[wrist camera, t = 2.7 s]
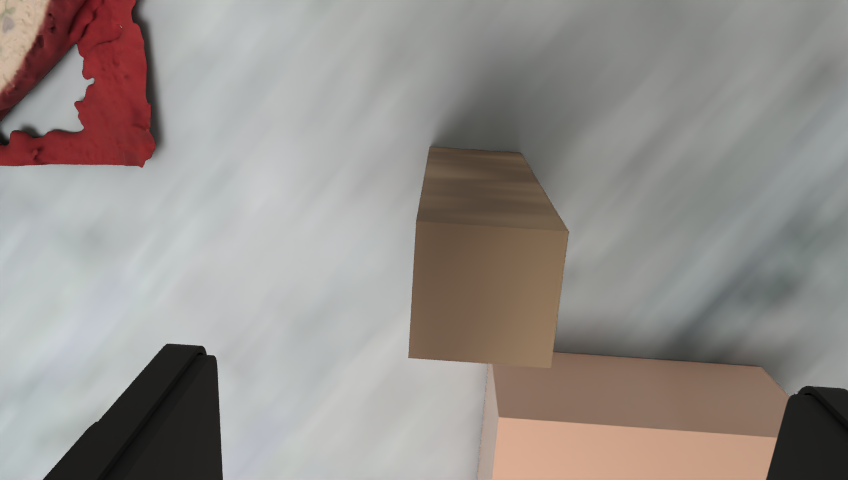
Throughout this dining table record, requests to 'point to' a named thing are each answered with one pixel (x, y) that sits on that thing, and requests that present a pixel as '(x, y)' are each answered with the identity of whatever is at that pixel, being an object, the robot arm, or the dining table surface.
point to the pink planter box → (629, 420)
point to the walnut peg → (485, 261)
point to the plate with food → (103, 60)
